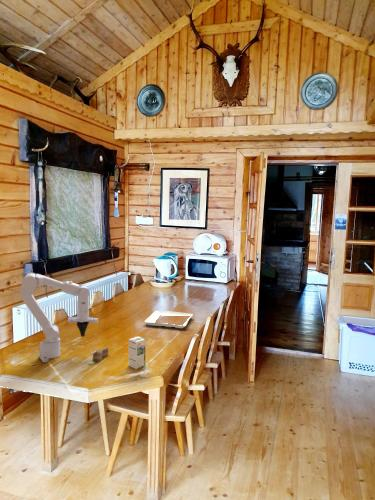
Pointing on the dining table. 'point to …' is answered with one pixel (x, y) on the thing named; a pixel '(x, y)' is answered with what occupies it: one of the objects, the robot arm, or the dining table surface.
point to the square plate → (156, 314)
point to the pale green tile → (91, 362)
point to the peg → (99, 354)
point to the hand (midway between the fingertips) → (82, 335)
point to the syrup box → (137, 352)
